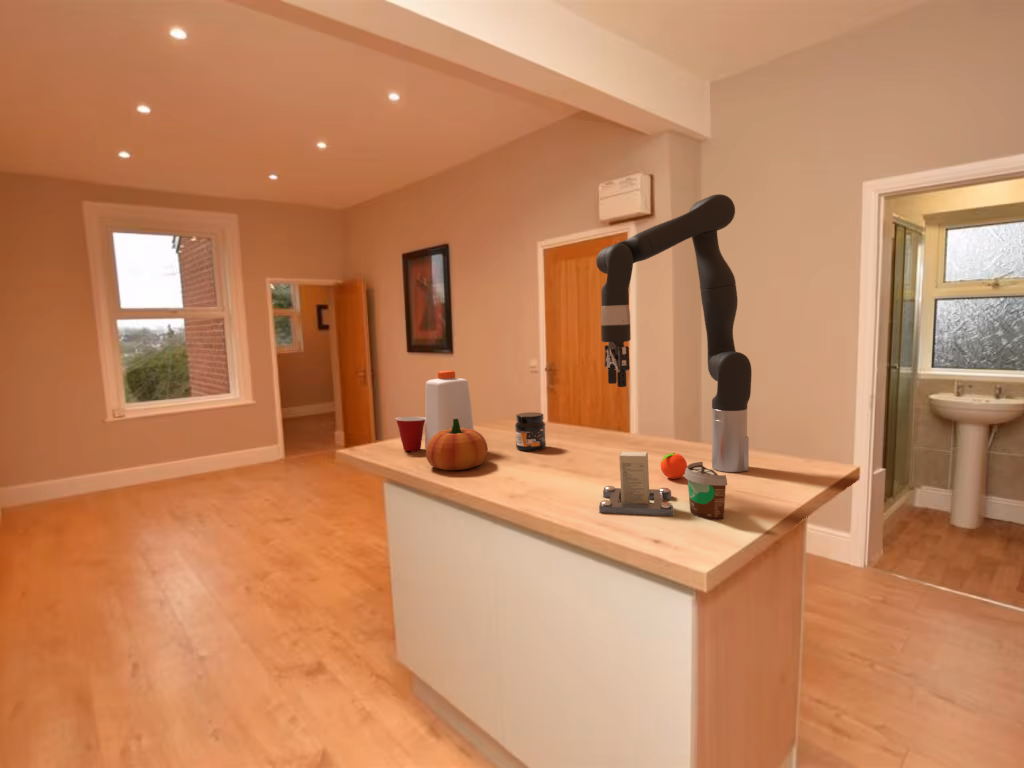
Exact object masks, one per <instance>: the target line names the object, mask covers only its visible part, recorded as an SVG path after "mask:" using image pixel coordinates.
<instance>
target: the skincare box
mask: <svg viewBox="0 0 1024 768" xmlns="http://www.w3.org/2000/svg"><path fill="white" fill-rule="evenodd" d="M648 454H649V453H648V451H621V452H620V454H619V458H618V459H619V473H620V475H619V477H620V479H619V480H620V488H621V498H620V499H621V503H635V504H651V502H650V501H651V499H650V498H649V489H650V479H649V477H650V476H649V474H650V473H649V472H650V471H649V456H648Z"/></svg>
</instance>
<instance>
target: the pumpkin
mask: <svg viewBox="0 0 1024 768" xmlns="http://www.w3.org/2000/svg"><path fill="white" fill-rule="evenodd" d="M488 448H489V447H488V443H487V441H486V439H485V437H484V436H483V434H481V433H480V432H479V431H478V430H475V429H474V430H473V429H467V428H460V425H459V421H458V419H453V427H452V428H451V429H447V430H442V431H440V432H438V433H437V434H435V435H434V436H433V437H432V438H431V439H430V441H429V442H428V444H427V447H426V449H425V457H426V460H427V462H428V463H429V465H430V466H431V467H433V468H436V469H441V470H445V471H463V470H468V469H472V468H475V467H477V466H479V465H480V466H481V465H482V463H484V461H485V460H486V458H487V455H488V452H489V451H488V450H489V449H488Z"/></svg>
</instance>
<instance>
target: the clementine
mask: <svg viewBox="0 0 1024 768" xmlns="http://www.w3.org/2000/svg"><path fill="white" fill-rule="evenodd" d="M659 466H660V470H661V472H662V474H663V475H664V476H665V477H667V478H668V479H672V480H677V479H680V478H682V477H683V476H684V475H685V470H686V468H687V466H688V463H687V460H686V459H685V458H684V456H683V455H681V454H679V453H676V452H670V453H667V454H666V455H664V456H663V458H662V459H661V461H660V465H659Z"/></svg>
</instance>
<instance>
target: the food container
mask: <svg viewBox="0 0 1024 768" xmlns="http://www.w3.org/2000/svg"><path fill="white" fill-rule="evenodd" d="M703 462H704V461H696V462H692V463H689V464H687V468H686V470H685V474H684V475H683V476H684V478H685V479H686V480H687V489H688V502H689V510H690V511H689V512H690V513H691V514H692V515H693V516H695V517H697V518H701V519H706V520H713V521H714V520H715V521H722V520H725V507H726V506H725V503H726V488H727V487H726V486H728V478H727V475H726V474H720V475H719V474H718V473H717V472H715V471H714V469H709V468H707V467H705V466H704V463H703Z"/></svg>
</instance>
